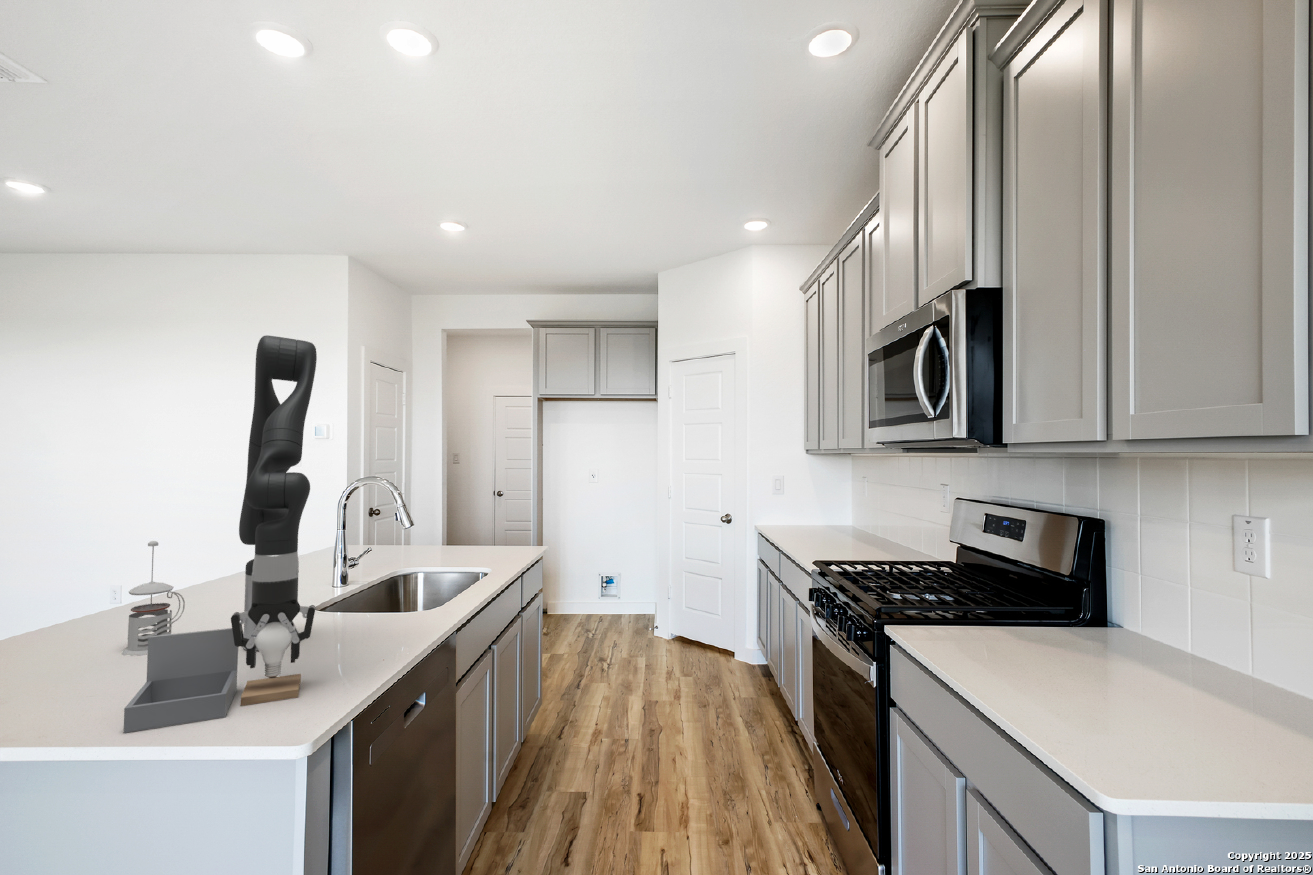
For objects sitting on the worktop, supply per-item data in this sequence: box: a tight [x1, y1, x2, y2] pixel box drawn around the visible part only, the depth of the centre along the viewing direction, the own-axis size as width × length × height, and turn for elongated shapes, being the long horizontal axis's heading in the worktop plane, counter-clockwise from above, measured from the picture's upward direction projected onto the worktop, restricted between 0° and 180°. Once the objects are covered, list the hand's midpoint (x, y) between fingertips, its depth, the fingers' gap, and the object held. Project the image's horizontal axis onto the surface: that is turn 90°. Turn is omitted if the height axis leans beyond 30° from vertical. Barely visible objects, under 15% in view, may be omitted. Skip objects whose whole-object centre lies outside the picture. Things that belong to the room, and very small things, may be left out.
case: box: [122, 627, 239, 734], centre depth 107 cm, size 14×14×12 cm
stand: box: [239, 673, 302, 707], centre depth 115 cm, size 9×9×2 cm
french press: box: [121, 540, 186, 656], centre depth 141 cm, size 10×12×25 cm
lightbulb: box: [255, 622, 292, 678], centre depth 115 cm, size 6×6×11 cm
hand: (273, 663), depth 115 cm, fingers closed on lightbulb, 6 cm apart
